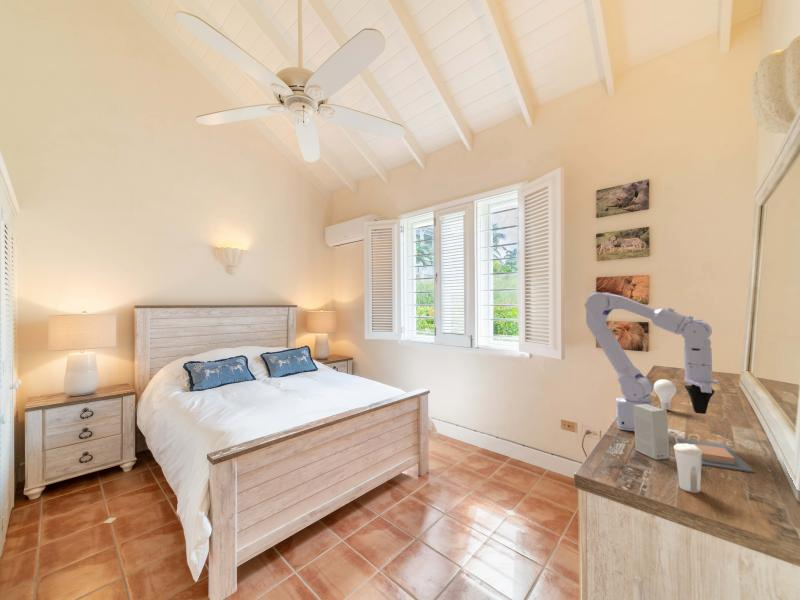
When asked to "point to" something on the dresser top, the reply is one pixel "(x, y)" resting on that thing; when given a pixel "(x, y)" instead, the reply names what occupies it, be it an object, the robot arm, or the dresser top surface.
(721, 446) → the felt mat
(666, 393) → the lightbulb
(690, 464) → the milkshake
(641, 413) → the skincare box
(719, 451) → the tile
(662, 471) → the dresser top surface
